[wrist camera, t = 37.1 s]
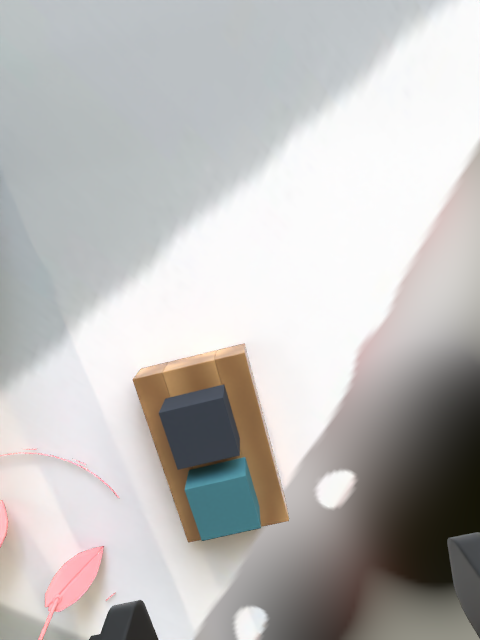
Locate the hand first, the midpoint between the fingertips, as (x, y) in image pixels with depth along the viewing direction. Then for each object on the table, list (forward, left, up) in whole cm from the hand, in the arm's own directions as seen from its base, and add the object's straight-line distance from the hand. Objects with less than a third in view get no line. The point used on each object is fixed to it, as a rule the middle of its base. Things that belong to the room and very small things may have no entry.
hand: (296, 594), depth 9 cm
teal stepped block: (-7, -15, -28) cm, 33 cm away
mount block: (-7, -11, -28) cm, 31 cm away
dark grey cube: (-7, -7, -28) cm, 30 cm away
